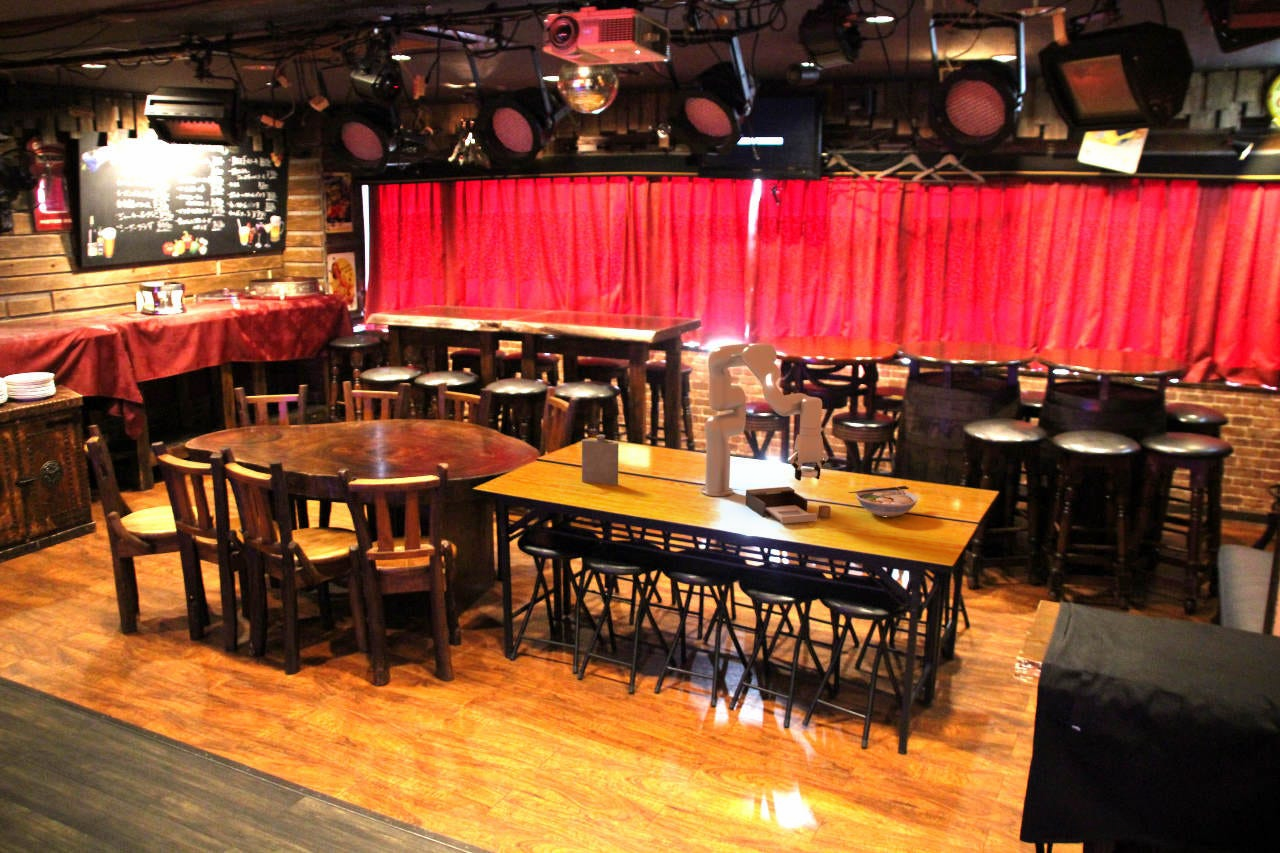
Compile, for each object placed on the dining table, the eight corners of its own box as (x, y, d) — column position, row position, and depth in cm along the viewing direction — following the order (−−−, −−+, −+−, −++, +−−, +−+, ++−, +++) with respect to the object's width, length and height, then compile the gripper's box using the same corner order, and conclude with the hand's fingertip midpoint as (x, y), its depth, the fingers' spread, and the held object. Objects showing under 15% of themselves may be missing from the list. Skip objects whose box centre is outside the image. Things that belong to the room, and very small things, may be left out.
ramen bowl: (870, 526, 377) (871, 504, 375) (841, 508, 398) (842, 487, 396) (931, 521, 384) (933, 500, 382) (899, 503, 405) (901, 483, 403)
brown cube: (816, 516, 388) (816, 505, 387) (826, 515, 389) (827, 504, 388) (821, 519, 384) (822, 509, 383) (832, 518, 385) (832, 508, 384)
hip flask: (580, 481, 429) (580, 434, 425) (584, 479, 433) (584, 432, 429) (616, 486, 424) (616, 438, 419) (620, 483, 427) (620, 436, 423)
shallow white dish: (794, 473, 383) (794, 468, 383) (811, 471, 385) (811, 467, 385) (803, 478, 377) (803, 473, 376) (820, 476, 379) (821, 472, 378)
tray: (763, 511, 389) (763, 504, 389) (797, 508, 394) (797, 501, 393) (781, 523, 375) (782, 516, 374) (816, 520, 379) (817, 513, 378)
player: (745, 505, 400) (746, 489, 399) (788, 501, 406) (788, 486, 404) (762, 517, 385) (763, 501, 384) (806, 513, 391) (807, 497, 390)
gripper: (826, 427, 384) (823, 474, 388) (783, 430, 378) (781, 478, 382) (836, 432, 377) (833, 479, 381) (793, 435, 371) (790, 483, 375)
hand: (807, 478), depth 381 cm, fingers closed on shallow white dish, 6 cm apart
